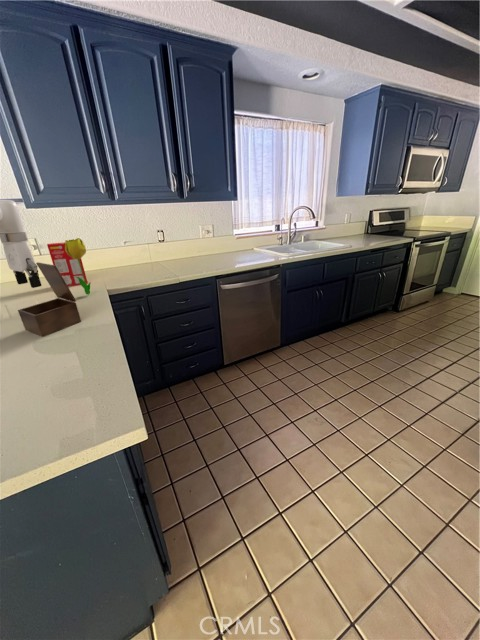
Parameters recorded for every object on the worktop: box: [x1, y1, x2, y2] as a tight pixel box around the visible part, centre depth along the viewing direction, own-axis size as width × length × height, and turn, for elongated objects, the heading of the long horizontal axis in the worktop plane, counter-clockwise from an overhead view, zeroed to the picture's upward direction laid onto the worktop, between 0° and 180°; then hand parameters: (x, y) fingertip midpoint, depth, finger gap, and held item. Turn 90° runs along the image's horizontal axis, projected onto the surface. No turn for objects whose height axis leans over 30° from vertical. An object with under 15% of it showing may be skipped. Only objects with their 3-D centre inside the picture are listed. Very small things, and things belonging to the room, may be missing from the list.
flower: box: [64, 237, 92, 296], centre depth 139 cm, size 9×8×30 cm
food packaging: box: [46, 241, 89, 287], centre depth 159 cm, size 15×5×25 cm, turn 122°
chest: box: [17, 297, 82, 338], centre depth 108 cm, size 16×13×9 cm
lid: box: [35, 262, 77, 303], centre depth 108 cm, size 16×13×1 cm
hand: (29, 285), depth 100 cm, fingers open, 9 cm apart
